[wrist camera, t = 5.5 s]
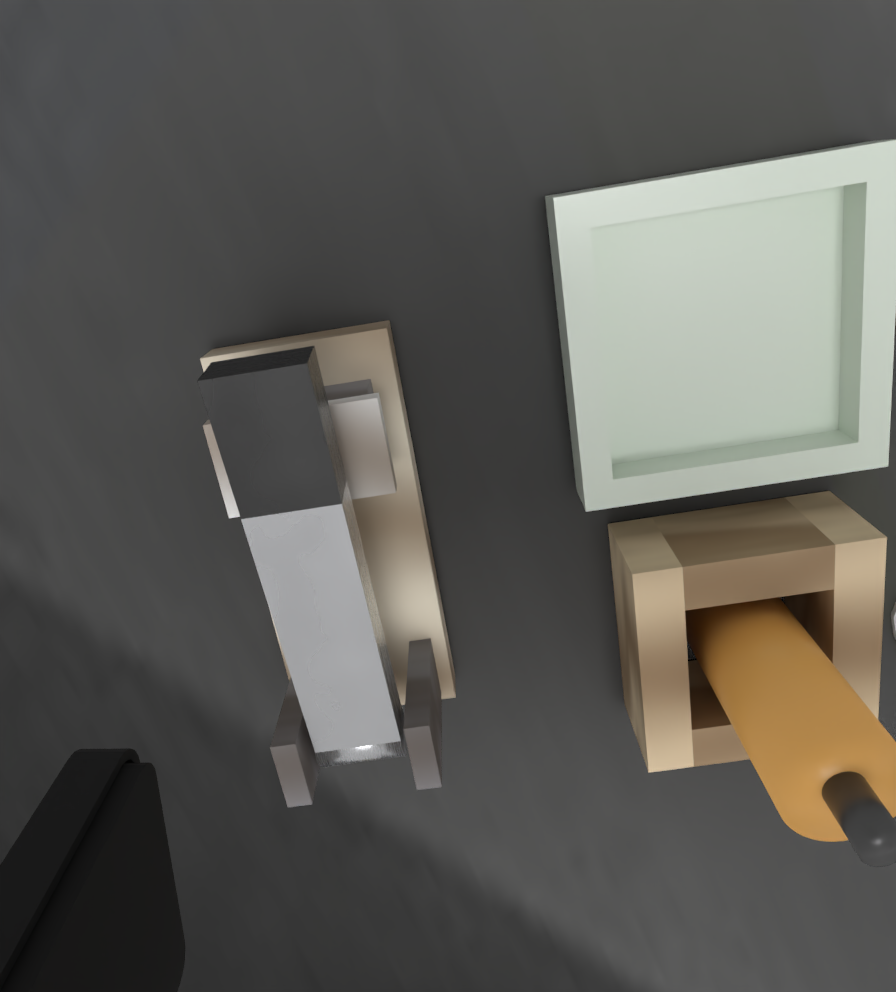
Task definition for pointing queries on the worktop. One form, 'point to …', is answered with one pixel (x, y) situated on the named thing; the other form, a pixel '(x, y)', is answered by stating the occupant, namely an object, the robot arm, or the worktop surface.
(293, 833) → the worktop surface
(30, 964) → the robot arm
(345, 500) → the lever
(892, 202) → the tray
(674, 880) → the worktop surface
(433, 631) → the base
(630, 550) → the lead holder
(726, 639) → the plug
